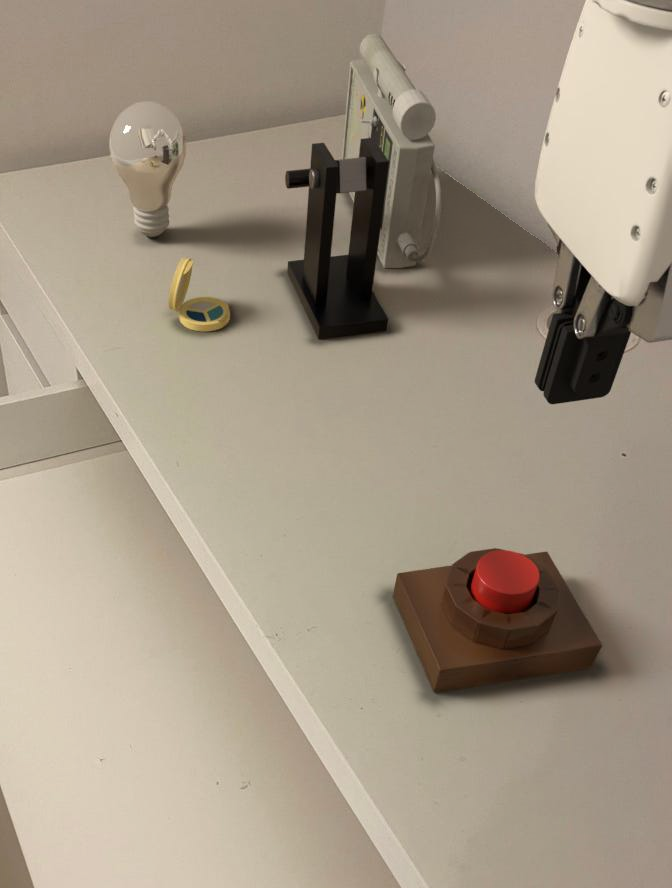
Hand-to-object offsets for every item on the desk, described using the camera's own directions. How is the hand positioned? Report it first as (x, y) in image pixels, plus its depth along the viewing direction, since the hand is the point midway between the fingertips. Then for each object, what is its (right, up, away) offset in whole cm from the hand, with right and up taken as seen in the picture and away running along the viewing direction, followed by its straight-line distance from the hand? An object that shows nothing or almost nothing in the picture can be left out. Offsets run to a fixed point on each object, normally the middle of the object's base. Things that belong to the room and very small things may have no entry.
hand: (570, 390), depth 48 cm
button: (0, -9, +11) cm, 14 cm away
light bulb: (-22, +27, +47) cm, 58 cm away
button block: (0, -12, +13) cm, 18 cm away
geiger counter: (0, +27, +47) cm, 54 cm away
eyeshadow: (-18, +16, +37) cm, 44 cm away
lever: (-7, +26, +35) cm, 44 cm away
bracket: (-6, +18, +38) cm, 43 cm away
